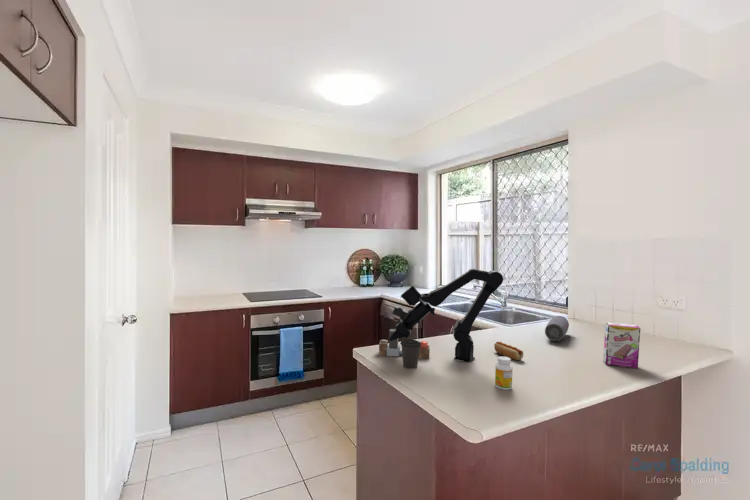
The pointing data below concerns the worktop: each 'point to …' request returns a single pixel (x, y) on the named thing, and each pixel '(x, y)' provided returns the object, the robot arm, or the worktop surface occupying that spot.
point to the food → (508, 351)
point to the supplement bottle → (503, 373)
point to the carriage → (393, 345)
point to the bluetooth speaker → (557, 328)
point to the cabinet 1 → (383, 347)
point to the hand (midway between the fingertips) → (390, 338)
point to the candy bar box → (621, 345)
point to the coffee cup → (410, 353)
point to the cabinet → (424, 352)
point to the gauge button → (424, 344)
